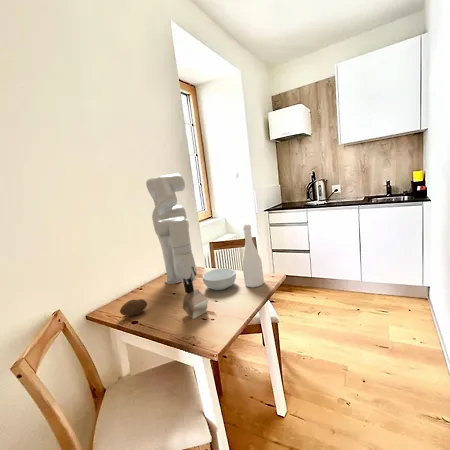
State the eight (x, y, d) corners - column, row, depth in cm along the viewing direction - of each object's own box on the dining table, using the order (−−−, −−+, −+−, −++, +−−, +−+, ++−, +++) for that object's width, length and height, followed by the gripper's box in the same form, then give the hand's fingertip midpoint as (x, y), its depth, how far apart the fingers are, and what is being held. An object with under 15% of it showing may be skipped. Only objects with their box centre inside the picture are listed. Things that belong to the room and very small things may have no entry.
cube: (183, 295, 103) (193, 306, 99) (197, 289, 108) (208, 299, 103) (182, 308, 106) (192, 319, 102) (196, 301, 111) (206, 311, 106)
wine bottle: (262, 279, 132) (255, 222, 127) (265, 286, 123) (258, 225, 118) (244, 281, 132) (236, 224, 127) (246, 289, 123) (237, 228, 118)
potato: (151, 311, 114) (148, 296, 113) (125, 322, 107) (122, 307, 106) (144, 307, 120) (142, 293, 119) (120, 317, 112) (116, 303, 111)
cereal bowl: (223, 296, 118) (221, 282, 117) (197, 291, 129) (195, 278, 128) (243, 282, 132) (241, 269, 130) (218, 278, 142) (216, 266, 141)
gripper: (164, 250, 106) (172, 291, 109) (184, 253, 95) (192, 300, 98) (180, 245, 111) (187, 285, 114) (200, 248, 100) (207, 292, 103)
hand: (189, 292), depth 106 cm, fingers closed
